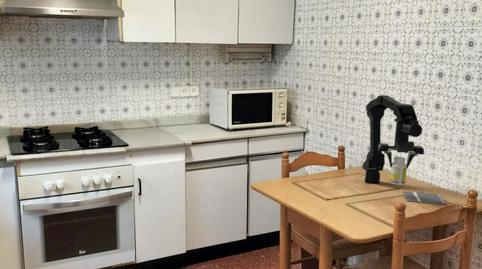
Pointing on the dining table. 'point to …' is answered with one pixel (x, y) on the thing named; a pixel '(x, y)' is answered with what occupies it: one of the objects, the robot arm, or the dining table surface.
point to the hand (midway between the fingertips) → (398, 167)
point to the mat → (424, 197)
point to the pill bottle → (398, 171)
